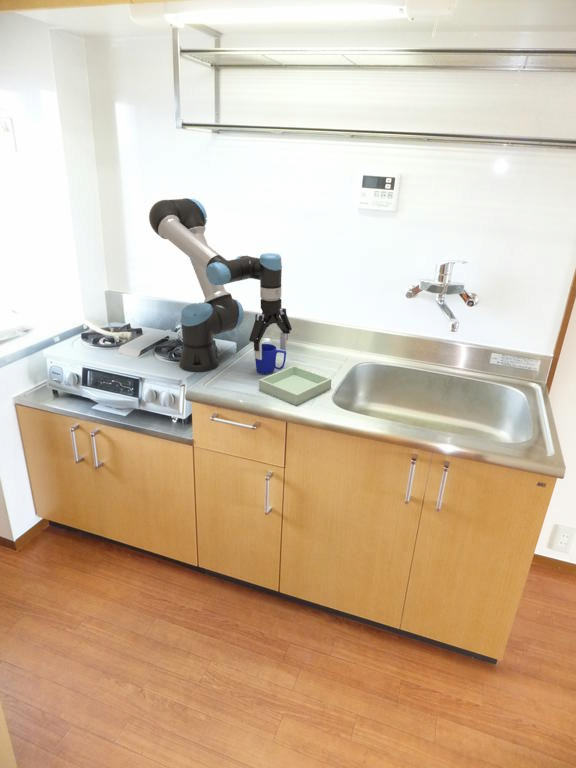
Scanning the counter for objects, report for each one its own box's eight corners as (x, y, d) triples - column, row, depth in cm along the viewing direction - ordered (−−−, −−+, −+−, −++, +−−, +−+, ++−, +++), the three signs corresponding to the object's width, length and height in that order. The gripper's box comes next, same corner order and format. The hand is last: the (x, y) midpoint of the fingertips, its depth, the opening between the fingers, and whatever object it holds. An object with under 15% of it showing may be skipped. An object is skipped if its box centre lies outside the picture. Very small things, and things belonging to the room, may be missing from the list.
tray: (258, 390, 178) (259, 379, 176) (293, 375, 190) (294, 365, 189) (296, 406, 167) (297, 395, 166) (330, 389, 180) (331, 378, 178)
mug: (283, 378, 188) (283, 353, 184) (252, 374, 190) (251, 350, 186) (287, 369, 195) (288, 345, 191) (257, 366, 197) (257, 342, 193)
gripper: (253, 306, 170) (254, 365, 178) (301, 294, 187) (300, 348, 195) (238, 302, 174) (240, 360, 183) (286, 290, 191) (286, 343, 200)
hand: (271, 354), depth 189 cm, fingers open, 13 cm apart
